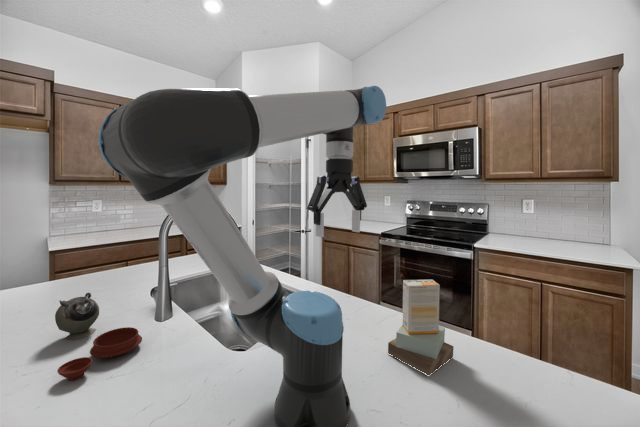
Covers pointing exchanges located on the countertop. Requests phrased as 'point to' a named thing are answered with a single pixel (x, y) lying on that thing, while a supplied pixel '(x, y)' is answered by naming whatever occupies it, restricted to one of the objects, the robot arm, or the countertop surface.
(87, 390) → the countertop surface
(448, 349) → the tower base block
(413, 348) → the tower top block
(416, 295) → the supplement box
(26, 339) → the countertop surface
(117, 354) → the pottery
